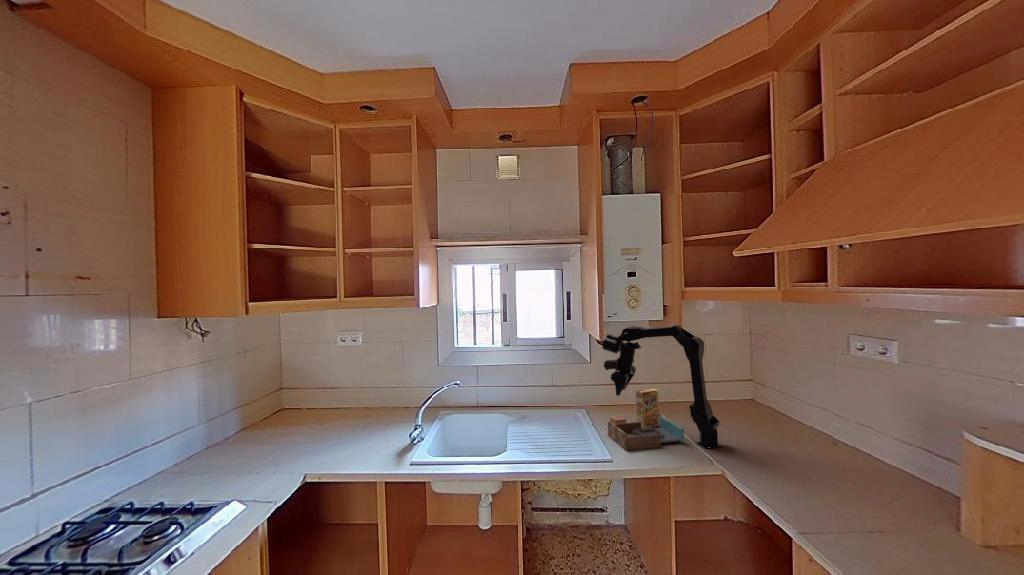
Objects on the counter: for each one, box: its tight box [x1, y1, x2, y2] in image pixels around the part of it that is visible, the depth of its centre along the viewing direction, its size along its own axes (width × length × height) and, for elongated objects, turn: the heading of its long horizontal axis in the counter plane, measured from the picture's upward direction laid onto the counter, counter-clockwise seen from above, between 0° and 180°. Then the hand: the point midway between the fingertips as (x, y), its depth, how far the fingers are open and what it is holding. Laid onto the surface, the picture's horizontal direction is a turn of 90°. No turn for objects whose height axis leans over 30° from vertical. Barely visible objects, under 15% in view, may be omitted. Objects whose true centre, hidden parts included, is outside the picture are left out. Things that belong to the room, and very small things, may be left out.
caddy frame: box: [607, 420, 662, 451], centre depth 178 cm, size 16×14×6 cm
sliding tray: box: [631, 415, 685, 444], centre depth 179 cm, size 16×14×5 cm
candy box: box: [635, 388, 660, 429], centre depth 195 cm, size 9×4×15 cm, turn 116°
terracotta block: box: [609, 415, 627, 424], centre depth 192 cm, size 5×5×5 cm
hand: (620, 392), depth 193 cm, fingers open, 9 cm apart
